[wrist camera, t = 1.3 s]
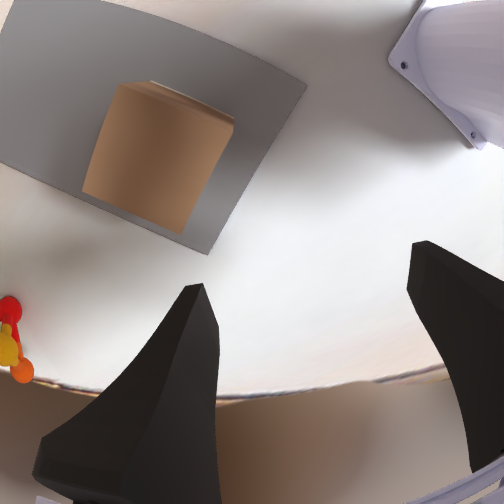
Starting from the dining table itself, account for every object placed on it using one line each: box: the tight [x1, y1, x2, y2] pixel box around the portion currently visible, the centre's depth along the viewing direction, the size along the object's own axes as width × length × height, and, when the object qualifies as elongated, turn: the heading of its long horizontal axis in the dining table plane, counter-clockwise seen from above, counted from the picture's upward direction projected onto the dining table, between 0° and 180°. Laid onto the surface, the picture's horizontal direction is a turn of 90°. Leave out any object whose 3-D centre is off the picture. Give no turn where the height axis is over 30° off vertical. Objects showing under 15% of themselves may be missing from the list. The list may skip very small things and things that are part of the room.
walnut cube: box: [82, 81, 234, 235], centre depth 14 cm, size 5×5×5 cm
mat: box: [0, 0, 307, 255], centre depth 15 cm, size 20×12×1 cm, turn 61°
